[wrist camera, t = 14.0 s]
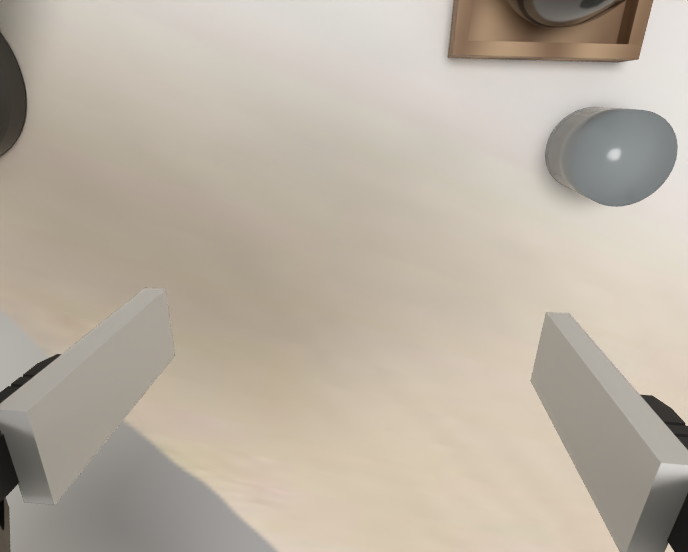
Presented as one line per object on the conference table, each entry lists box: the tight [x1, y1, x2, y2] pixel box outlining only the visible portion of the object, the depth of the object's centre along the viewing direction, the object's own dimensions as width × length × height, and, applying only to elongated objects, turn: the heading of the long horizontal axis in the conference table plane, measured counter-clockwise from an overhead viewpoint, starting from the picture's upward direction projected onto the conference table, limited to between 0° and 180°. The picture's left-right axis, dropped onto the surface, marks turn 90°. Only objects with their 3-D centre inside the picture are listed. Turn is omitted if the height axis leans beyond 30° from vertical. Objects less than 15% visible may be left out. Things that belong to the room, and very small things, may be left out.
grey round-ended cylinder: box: [545, 107, 677, 206], centre depth 36 cm, size 7×7×7 cm
